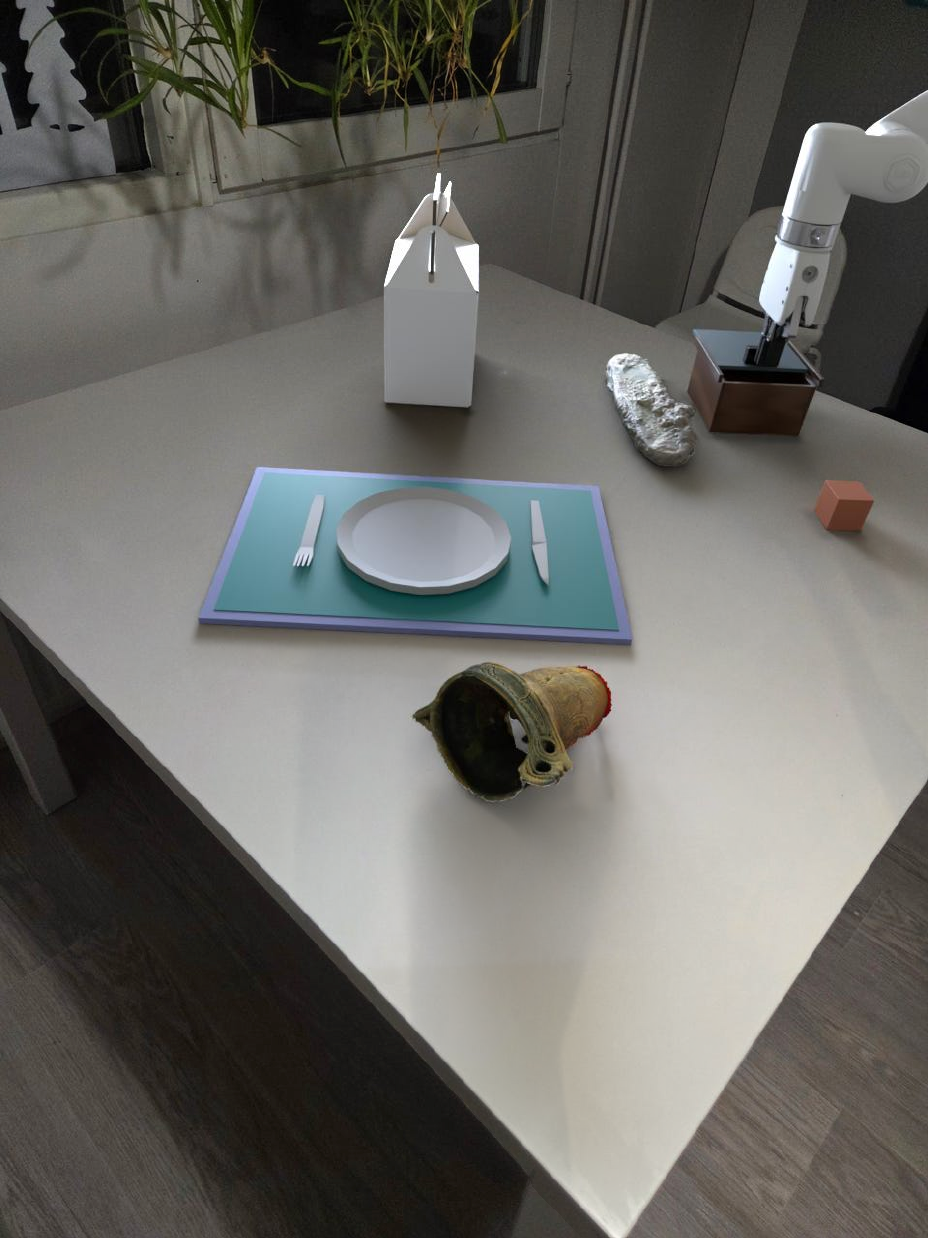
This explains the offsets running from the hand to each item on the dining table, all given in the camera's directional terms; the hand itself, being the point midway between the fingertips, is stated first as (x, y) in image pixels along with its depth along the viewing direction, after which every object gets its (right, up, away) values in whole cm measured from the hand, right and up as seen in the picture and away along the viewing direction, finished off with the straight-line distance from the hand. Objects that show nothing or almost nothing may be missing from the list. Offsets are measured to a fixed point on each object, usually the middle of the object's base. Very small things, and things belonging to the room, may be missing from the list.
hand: (765, 364), depth 121 cm
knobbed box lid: (0, +4, +7) cm, 8 cm away
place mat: (-49, -29, -24) cm, 62 cm away
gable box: (-50, +2, +13) cm, 51 cm away
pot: (-40, -50, -47) cm, 80 cm away
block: (+4, -25, -13) cm, 28 cm away
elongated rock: (-17, -6, +7) cm, 19 cm away
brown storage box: (-1, -5, +9) cm, 10 cm away
